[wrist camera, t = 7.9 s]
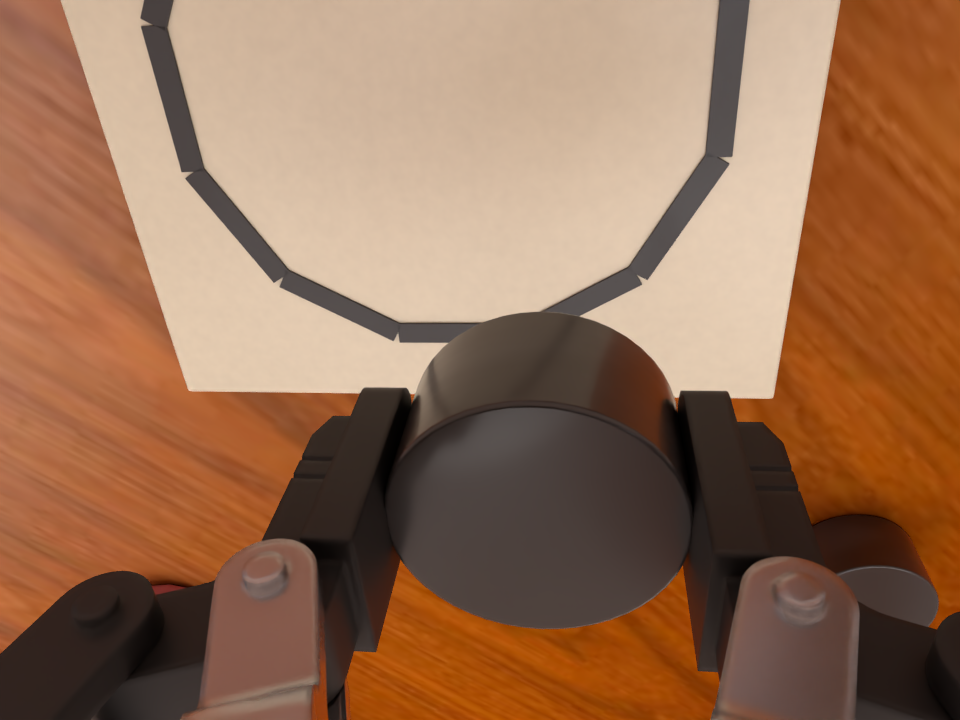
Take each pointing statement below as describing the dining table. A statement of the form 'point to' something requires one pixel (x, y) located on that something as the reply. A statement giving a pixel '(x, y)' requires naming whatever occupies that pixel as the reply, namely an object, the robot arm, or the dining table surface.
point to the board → (461, 176)
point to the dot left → (541, 474)
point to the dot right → (878, 566)
